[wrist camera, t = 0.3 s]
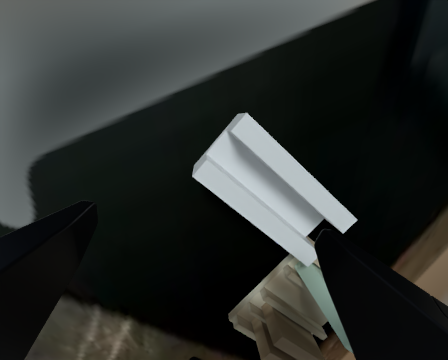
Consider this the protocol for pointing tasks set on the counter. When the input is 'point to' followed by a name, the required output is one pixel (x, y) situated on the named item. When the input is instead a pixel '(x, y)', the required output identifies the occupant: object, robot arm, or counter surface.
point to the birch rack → (281, 300)
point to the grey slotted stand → (269, 187)
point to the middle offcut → (290, 335)
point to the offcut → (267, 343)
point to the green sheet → (322, 297)
